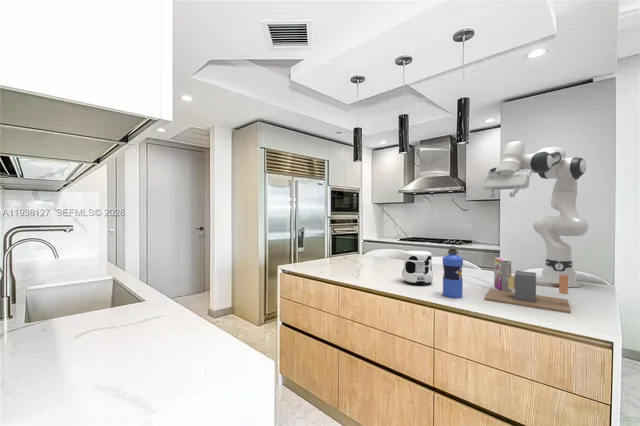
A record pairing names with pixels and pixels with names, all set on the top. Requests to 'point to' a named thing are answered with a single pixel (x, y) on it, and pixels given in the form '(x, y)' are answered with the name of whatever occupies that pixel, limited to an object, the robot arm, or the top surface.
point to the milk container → (417, 267)
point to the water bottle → (452, 274)
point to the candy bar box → (501, 273)
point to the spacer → (511, 282)
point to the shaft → (561, 285)
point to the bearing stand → (527, 295)
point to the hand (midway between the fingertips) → (501, 196)
